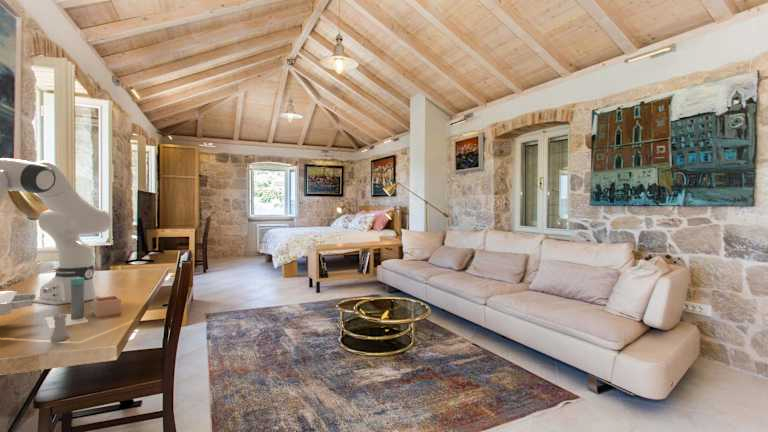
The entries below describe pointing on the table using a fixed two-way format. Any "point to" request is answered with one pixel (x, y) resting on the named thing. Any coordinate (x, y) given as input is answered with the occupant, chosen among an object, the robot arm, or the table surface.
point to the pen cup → (106, 306)
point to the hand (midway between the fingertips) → (34, 299)
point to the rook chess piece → (60, 328)
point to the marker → (77, 298)
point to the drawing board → (68, 321)
